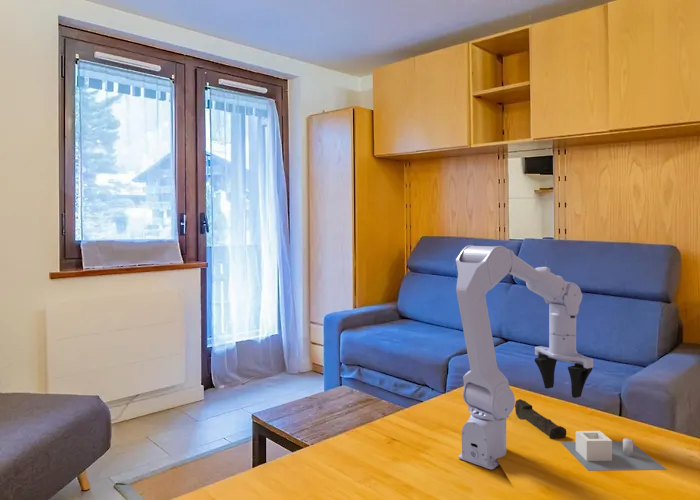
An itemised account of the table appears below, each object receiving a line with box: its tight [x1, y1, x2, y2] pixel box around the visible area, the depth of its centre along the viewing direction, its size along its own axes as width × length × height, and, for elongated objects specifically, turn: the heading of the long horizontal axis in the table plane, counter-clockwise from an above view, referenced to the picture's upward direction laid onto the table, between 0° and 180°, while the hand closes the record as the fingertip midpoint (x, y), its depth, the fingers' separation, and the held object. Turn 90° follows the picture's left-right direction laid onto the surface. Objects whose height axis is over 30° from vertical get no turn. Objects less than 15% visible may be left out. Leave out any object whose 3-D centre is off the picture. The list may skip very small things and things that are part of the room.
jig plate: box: [560, 437, 668, 472], centre depth 103 cm, size 15×13×4 cm
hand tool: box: [514, 398, 567, 440], centre depth 121 cm, size 19×4×5 cm, turn 8°
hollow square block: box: [575, 430, 613, 461], centre depth 103 cm, size 5×5×4 cm
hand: (562, 392), depth 117 cm, fingers open, 7 cm apart
